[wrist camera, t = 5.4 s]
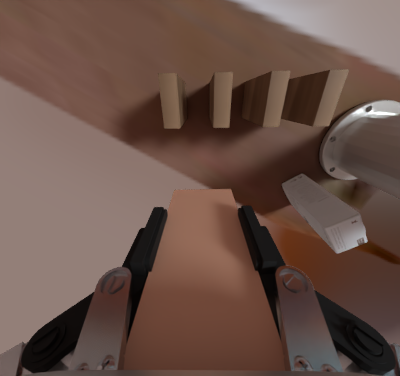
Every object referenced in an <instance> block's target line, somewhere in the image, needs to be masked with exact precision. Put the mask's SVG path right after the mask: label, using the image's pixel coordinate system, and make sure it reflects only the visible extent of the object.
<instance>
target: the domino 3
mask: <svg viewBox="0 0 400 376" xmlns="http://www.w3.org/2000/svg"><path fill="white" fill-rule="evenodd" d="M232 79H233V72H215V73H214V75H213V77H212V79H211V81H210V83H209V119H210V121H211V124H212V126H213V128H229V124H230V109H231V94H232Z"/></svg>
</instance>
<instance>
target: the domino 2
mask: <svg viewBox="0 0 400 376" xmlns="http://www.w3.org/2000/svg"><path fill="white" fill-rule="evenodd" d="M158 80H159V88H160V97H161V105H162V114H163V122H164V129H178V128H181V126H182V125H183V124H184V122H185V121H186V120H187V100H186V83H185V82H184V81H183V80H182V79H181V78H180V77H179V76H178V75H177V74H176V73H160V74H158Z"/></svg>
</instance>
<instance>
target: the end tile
mask: <svg viewBox="0 0 400 376" xmlns="http://www.w3.org/2000/svg"><path fill="white" fill-rule="evenodd" d="M167 214H168V217H167V220H166V224H165V227H164V231H163V234H162V237H161V241H160V244H159V248H158V251H157V254H156V258H155V261H154V265H153V268H152V271H151V272H149V273H148V277H147V280H146V283H145V286H144V290H143V293H142V296H141V299H140V302H139V306H138V309H137V312H136V315H135V319H134V322H133V325H132V328H131V332H130V335H129V338H128V341H127V345H126V352H125V355H123V356H124V357H125V361H124V369H123V370H254V371H285V365H284V357H285V355H283V350H282V343H281V340H280V337H279V334H278V331H277V327H276V324H275V321H274V318H273V315H272V312H271V309H270V306H269V303H268V300H267V297H266V294H265V291H264V288H263V285H262V282H261V279H260V276H259V273H258V271H255V269H254V266H253V263H252V259H251V256H250V253H249V250H248V247H247V243H246V240H245V237H244V234H243V231H242V227H241V224H240V221H239V218H238V209H237V206H236V203H235V200H234V197H233V194H232V191H231V189H203V190H201V189H200V190H174V192H173V196H172V199H171V202H170V206H169V209H168V212H167Z"/></svg>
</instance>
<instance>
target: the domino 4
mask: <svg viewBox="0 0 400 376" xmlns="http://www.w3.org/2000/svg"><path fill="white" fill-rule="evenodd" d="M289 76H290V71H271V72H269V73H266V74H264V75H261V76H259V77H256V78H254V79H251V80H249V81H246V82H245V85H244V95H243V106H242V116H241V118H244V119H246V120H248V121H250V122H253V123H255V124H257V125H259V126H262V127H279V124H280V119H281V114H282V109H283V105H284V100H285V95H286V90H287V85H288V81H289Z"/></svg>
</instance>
